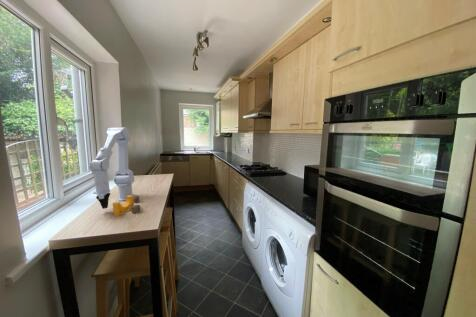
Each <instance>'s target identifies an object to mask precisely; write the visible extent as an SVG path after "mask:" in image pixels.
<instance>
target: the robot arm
mask: <svg viewBox="0 0 476 317" xmlns="http://www.w3.org/2000/svg"><path fill="white" fill-rule="evenodd" d="M106 135H107V136H106V137H107V138H106V141H105V144H104V146H103V147H100V148H99V151H98V152H97V154H96V156H95V159H92V160H91V161H90V163H89V166H88V167H89V168H88V169H89V170H90V171H91V174H92V176H93V180H94V188H95V191H93V192H92V194H93V195H96V200H97V201H98V202H99V204H100V206H101V208H102V209H108V208H109V207H108V206H109V199H110V196H111V189H110V184H109V183H110V182H109V174H108V170H109V168H110V159H111V157H112V154H113V150H112V149H113V148H114V146H115V145H116V143H117V144H118V145H117V148H118V152H117V153H118V170H116V171H115V172H114V177H113V182H114V184H115V185H116V186H117V187H118V195H119V196H118V202H122V201H126V197H127V196H129V195H131V196H134V195H135V194H134V193H133V184H134V182H135V176H134V171H132V170H131V169H130V168H129V142H130V131H129V129H128V128H127V127H126V126H123V127H121V126H120V127H108V128H107V130H106Z"/></svg>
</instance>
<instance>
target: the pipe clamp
mask: <svg viewBox="0 0 476 317" xmlns="http://www.w3.org/2000/svg"><path fill="white" fill-rule="evenodd" d="M133 205H135V203H134V200H133V196H131V195H129V196H127V197H126V200H124V202H122V203H121V201H118V202H117V201H116V202H113V203H112V209H113V216H115V217H116V216H117V217H120V216H121V215H123V214H124V213H126V212H127V211H129V210H130V209H131V207H132V206H133Z"/></svg>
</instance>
